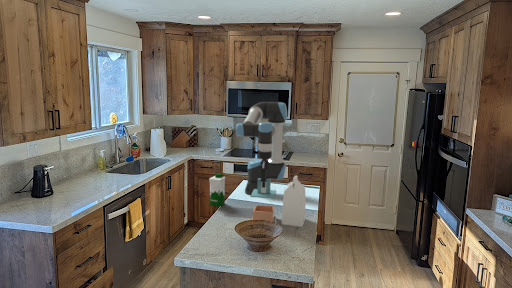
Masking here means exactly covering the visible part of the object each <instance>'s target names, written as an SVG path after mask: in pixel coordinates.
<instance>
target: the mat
mask: <svg viewBox="0 0 512 288" xmlns="http://www.w3.org/2000/svg"><path fill="white" fill-rule="evenodd" d="M253 210H254V207H253V208H251V207H250V208H249V207H238V206H237V207H236V206H235V207H234V206H230V207H229V208H228V210H227V211H226V212H225V214H224V217H229V218H243V219H253Z"/></svg>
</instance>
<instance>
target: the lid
mask: <svg viewBox="0 0 512 288" xmlns="http://www.w3.org/2000/svg"><path fill="white" fill-rule="evenodd" d="M260 180H261V178H258V188H257V189H254V190H253V192H252V194H251V195H250V198H257V199H258V198H260V199H275V197H276V194H277V190H276V189H271V182H272V181H271V180H272V179H266V193H261V182H260Z"/></svg>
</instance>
